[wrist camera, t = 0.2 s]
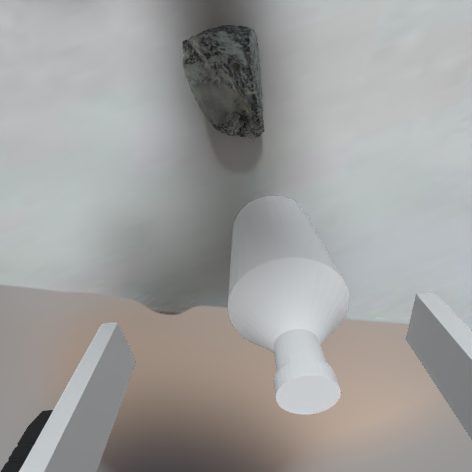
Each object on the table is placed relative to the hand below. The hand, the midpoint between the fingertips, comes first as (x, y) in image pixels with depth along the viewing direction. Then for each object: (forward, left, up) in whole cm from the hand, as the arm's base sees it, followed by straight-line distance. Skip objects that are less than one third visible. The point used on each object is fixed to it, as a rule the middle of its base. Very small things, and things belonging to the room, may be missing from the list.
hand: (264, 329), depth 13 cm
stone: (-10, -1, -28) cm, 30 cm away
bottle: (+10, +2, -28) cm, 30 cm away
